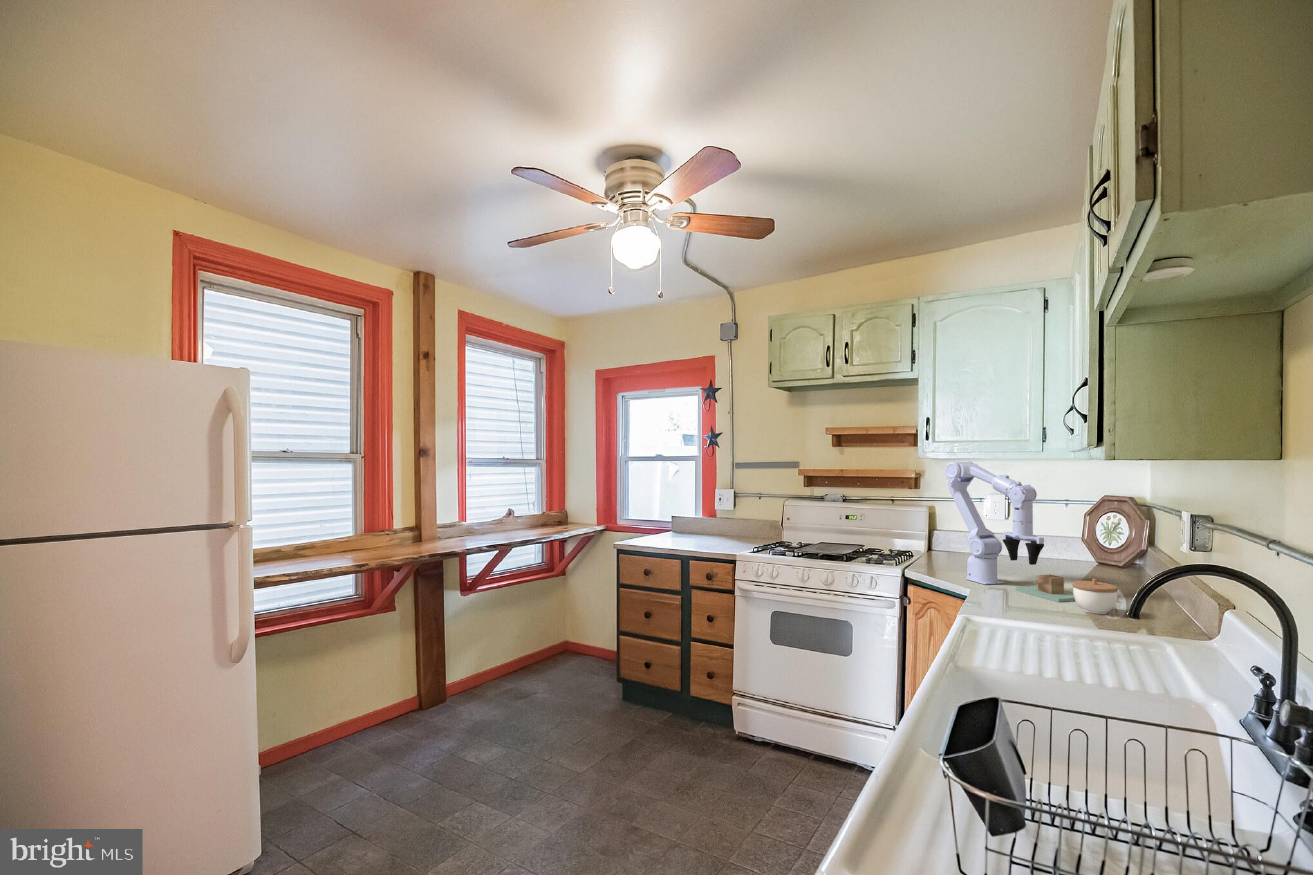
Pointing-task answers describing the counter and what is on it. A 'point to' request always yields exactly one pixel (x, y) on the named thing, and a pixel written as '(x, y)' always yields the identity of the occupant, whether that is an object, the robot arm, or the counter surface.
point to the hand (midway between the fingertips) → (1023, 562)
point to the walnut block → (1051, 584)
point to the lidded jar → (1095, 596)
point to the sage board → (1047, 594)
